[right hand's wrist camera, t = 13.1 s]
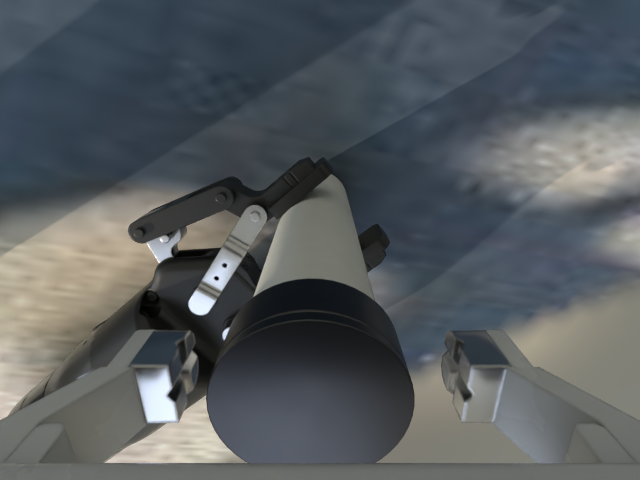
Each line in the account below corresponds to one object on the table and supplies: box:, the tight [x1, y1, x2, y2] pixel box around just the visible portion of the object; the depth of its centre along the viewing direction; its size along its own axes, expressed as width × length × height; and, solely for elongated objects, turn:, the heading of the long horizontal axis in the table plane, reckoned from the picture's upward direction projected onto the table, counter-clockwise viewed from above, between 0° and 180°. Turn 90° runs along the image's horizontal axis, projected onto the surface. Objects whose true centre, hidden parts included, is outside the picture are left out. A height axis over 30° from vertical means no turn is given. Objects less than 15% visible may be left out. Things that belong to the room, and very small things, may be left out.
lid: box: [206, 278, 414, 463], centre depth 9 cm, size 5×5×2 cm
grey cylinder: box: [254, 174, 375, 301], centre depth 18 cm, size 4×4×18 cm
